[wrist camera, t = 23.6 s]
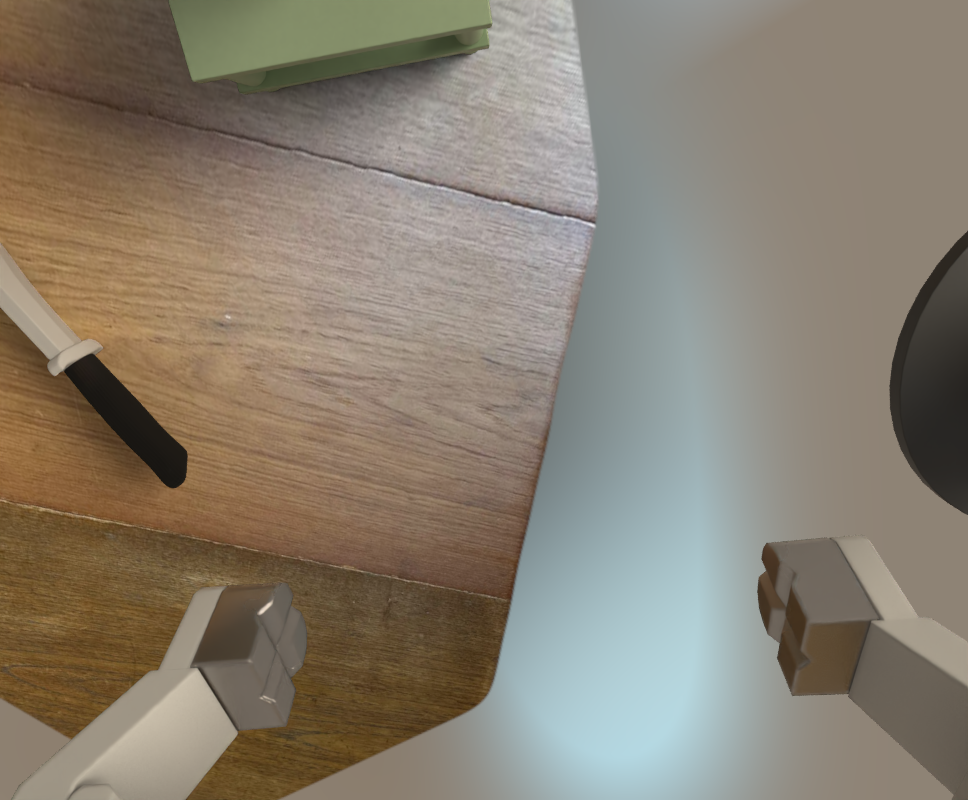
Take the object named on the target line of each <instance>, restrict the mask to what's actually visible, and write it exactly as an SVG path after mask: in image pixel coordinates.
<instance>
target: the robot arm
mask: <svg viewBox="0 0 968 800" xmlns="http://www.w3.org/2000/svg"><path fill="white" fill-rule="evenodd" d="M762 561H763V564H764V566H765V568H766V571H765V572H764V573H763V574H762V575H761V576H760V577H759V580H758V591H757V593H758V602H759V609H760V613H761V616H762V620H763V623H764V626H765V628H766V631H767V634H768V635H770V636H771V637H772V638H773V639H775V640H776V641H777V642H779V643H780V645H779V651H778V656H777V659H778V662H779V664H780V666H781V669H782V671H783V674H784V676H785V679H786V681H787V684H788V686H789V689H790V691H791V694H792V696H802V695H831V694H849V696H848V697H849V698H850V699H851V700H852V701H853V702H854V703H856V704H857V705H858V706H859V707H860V708H861V709H862V710H863V711H864V712H865V713H866V714H867V715H868V716H869V717H871V718H872V719H873V720H874V721H875V722H876V723H877V724H878V725H879V726H880V727H881V728H882V729H884V730H885V731H886V732H887V733H888V734H889V735H890V736H891V737H892V738H893V739H894V740H895V741H897V742H898V743H899V744H900V745H901V746H902V747H903V748H904V749H905V750H906V751H907V752H908V753H910V754H911V755H912V756H913V757H914V758H915V759H916V760H917V761H918V762H919V763H920V764H921V765H922V766H923V767H925V768H926V769H927V770H928V771H929V772H930V773H931V774H932V775H933V776H934V777H935V778H936V779H938V780H939V781H940V782H941V783H942V784H943V785H944V786H945V787H946V788H947V789H948V790H949V791H950V792H952V793H953V794H954V796H953V798H952V800H968V642H967V641H966V640H964V639H963V638H961V637H959V636H958V635H956V634H955V633H953V632H952V631H949V630H948V629H947V628H945V627H944V626H942V625H940V624H939V623H937V622H936V621H934V620H933V619H931V618H929V617H920V618H919V617H918V616H917V614H916V613H915V611H914V610H913V608H912V606H911V605H910V603H909V602H908V600H907V598H906V597H905V595H904V594H903V592H902V590H901V589H900V587H899V586H898V584H897V583H896V581H895V579H894V578H893V576H892V575H891V573H890V572H889V570H888V569H887V567H886V565H885V564H884V562H883V561H882V559H881V558H880V556H879V554H878V553H877V551H876V550H875V548H874V547H873V545H872V543H871V542H870V540H869V539H868V538H866V537H865V536H863V535H855V536H843V537H832V538H816V539H805V540H794V541H783V542H772V543H766V545H765V546H764V548H763V553H762ZM293 596H294V595H293V594H292V592H291V590H290V588H289V586H288V584H287V583H267V584H248V585H230V586H218V587H202V588H200V589H199V590H198V591H197V592H196V593H195V594H194V595H193V597H192V599H191V601H190V603H189V605H188V608H187V610H186V612H185V614H184V616H183V618H182V620H181V622H180V625H179V627H178V629H177V631H176V633H175V635H174V637H173V639H172V642H171V644H170V646H169V648H168V650H167V652H166V654H165V656H164V659H163V661H162V663H161V665H160V667H159V669H158V670H155V671H149V672H148V673H147V674H146V675H145V676H144V677H142V678H141V679H140V680H139V681H138V682H137V683H136V684H134V685H133V686H132V687H131V688H130V689H129V690H128V691H126V692H125V693H124V694H123V695H122V696H121V697H120V698H118V699H117V700H116V701H115V702H114V703H113V704H112V705H110V706H109V707H108V708H107V709H106V710H105V711H104V712H102V713H101V714H100V715H99V716H98V717H97V718H96V719H94V720H93V721H92V722H91V723H90V724H89V725H88V726H86V727H85V728H84V729H83V730H82V731H81V732H80V733H78V734H77V735H76V736H75V737H74V738H73V739H72V740H70V741H69V742H68V743H67V744H66V745H65V746H64V747H63V748H61V749H60V750H59V751H58V752H57V753H56V754H54V755H53V756H52V757H51V758H50V759H49V760H48V761H46V762H45V763H44V764H43V765H42V766H41V767H40V768H38V769H37V770H36V771H35V772H34V773H33V774H32V775H30V776H29V777H28V778H27V779H26V780H25V781H24V782H22V783H21V784H20V785H19V787H18V788H17V790H16V792H15V793H14V795H13V797H12V799H11V800H186V798H187V797H188V796H189V795H190V793H191V792H192V791H193V790H194V788H195V787H196V786H197V785H198V783H199V782H200V781H201V780H202V778H203V777H204V776H205V775H206V773H207V772H208V771H209V770H210V768H211V767H212V766H213V765H214V763H215V762H216V761H217V760H218V758H219V757H220V756H221V755H222V753H223V752H224V751H225V750H226V749H227V747H228V746H229V745H230V744H231V742H232V741H233V740H234V739H235V737H236V736H237V735H238V732H237V731H240V730H251V729H262V728H274V727H285V726H286V725H287V721H288V718H289V714H290V711H291V707H292V703H293V700H294V696H295V692H296V688H295V686H294V684H293V682H292V680H291V677H292V676H293V675H294V674H295V673H296V672H297V671H298V670H299V669H300V668H301V667H302V666H303V662H304V658H305V654H306V647H307V630H306V625H305V620H304V618H303V616H302V613H301V612H300V611H298V610H297V609H295V608H294V607H292V606H291V602H292V599H293Z"/></svg>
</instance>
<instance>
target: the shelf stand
mask: <svg viewBox="0 0 968 800" xmlns="http://www.w3.org/2000/svg"><path fill="white" fill-rule="evenodd" d="M168 2H169V5H170V8H171V12H172V15H173V19H174V22H175V25H176V29H177V32H178V36H179V39H180V42H181V46H182V49H183V53H184V56H185V59H186V63H187V66H188V69H189V73H190V76H191V80H192V81H193V82H197V83H206V82H211V81H216V80H222V79H227V80H231V81H234V82H236V83H237V87H238V90H239V93H241V94H245V95H247V94H252V93H257V92H263V91H268V92H274V91H277V90H278V89H279V88H283V87H289V86H294V85H299V84H304V83H310V82H315V81H320V80H325V79H331V78H336V77H341V76H346V75H352V74H357V73H362V72H367V71H372V70H378V69H383V68H388V67H393V66H399V65H404V64H409V63H414V62H420V61H425V60H430V59H435V58H440V57H446V56H451V55H456V54H461V53H465V54H473V53H475V52H477V51H478V50H482V49H488V48H489V38H488V31H487V28H491V27H492V18H491V11H490V4H489V0H168Z"/></svg>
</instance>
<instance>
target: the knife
mask: <svg viewBox="0 0 968 800" xmlns="http://www.w3.org/2000/svg"><path fill="white" fill-rule="evenodd" d="M0 308H1V309H2V310H3V311H4V312H5V313H6V314H7V315H8V316H9V317H10V318H11V319H12V320H13V322H14V323H15V324H16V325H17V326H18V327H19V328H20V329H21V330H22V331H23V332H24V333H25V334H26V335H27V336H28V338H29V339H30V340H31V341H32V342H33V343H34V344H35V345H36V346H37V347H38V348H39V349H40V350H41V351H42V352H43V353H44V355H45V356H46V357H47V358H48V359H49V360H50V361H49V362H48V365H47V367H48V370H49V372H50V373H51V374H52V375H53V376H56V375H57V374H58V373H60V372H62V371H64V372H65V374H66V375H67V376H68V377H69V378H70V380H71V381H72V382H73V383H74V384H75V386H76V387H77V388H78V389H79V391H80V392H81V393H82V394H83V396H84V397H85V398H86V399H87V400H88V402H89V403H90V404H91V405H92V406H93V407H94V409H95V410H96V411H97V412H98V413H99V414H100V415H101V417H102V418H103V419H104V420H105V421H106V422H107V423H108V424H109V426H110V427H111V428H112V429H113V430H114V431H115V432H116V433H117V434H118V435H119V437H120V438H121V439H122V440H123V441H124V442H125V443H126V444H127V445H128V446H129V447H130V448H131V449H132V450H133V451H134V452H135V453H136V454H137V455H138V456H139V457H140V458H141V459H142V460H143V461H144V462H145V463H146V464H147V465H148V466H149V467H150V468H151V469H152V470H153V471H154V472H155V474H156V475H157V476H158V477H159V479H160V480H161V481H162V482H163V483H164V484H165V485H166V486H168V487H170V488H177V487H178V486H180V485H181V484H182V483H183V482H184V480H185V478H186V473H187V458H188V455H187V451H186V450H185V449H184V448H183V447H182V446H181V445H180V444H179V443H178V442H177V441H176V440H175V439H174V438H172V437H171V436H170V435H169V434H168V433H167V432H166V431H165V430H164V429H163V428H162V427H161V426H160V425H159V423H158V422H157V421H156V420H155V419H154V418H153V417H152V416H151V414H150V413H149V412H148V411H147V410H146V409H145V408H144V407H143V406H142V404H141V403H140V402H139V401H138V400H137V399H136V398H135V397H134V396H133V395H132V394H131V393H130V392H129V391H128V390H127V389H126V388H125V386H124V385H123V384H122V383H121V382H120V381H119V380H118V379H117V378H116V377H115V376H114V375H113V374H112V373H111V372H110V371H109V370H108V369H107V368H106V367H105V366H104V364H103V363H102V362H101V361H100V360H99V359H98V358H97V357H96V356H95V355H96V354H97V353H98V352H100V351H101V350H102V349H103V346H102V345H101V344H100V343H98V342H97V341H95V340H93V339H86V340H83V341H81V340H80V338H79V337H78V336H77V335H76V334H75V333H74V332H73V331H72V330H71V329H70V328H69V327H68V326H67V325H66V323H65V322H64V321H63V320H62V319H61V318H60V317H59V316H58V315H57V314H56V312H55V311H54V310H53V309H52V308H51V307H50V306H49V305H48V303H47V302H46V301H45V300H44V299H43V298H42V296H41V295H40V294H39V293H38V292H37V290H36V289H35V288H34V287H33V285H32V284H31V283H30V282H29V280H28V279H27V278H26V276H25V275H24V274H23V272H22V271H21V270H20V268H19V267H18V265H17V264H16V263H15V261H14V260H13V258H12V257H11V256H10V254H9V253H8V252H7V250H6V249H5V248H4V247H3V245H2V244H1V243H0Z"/></svg>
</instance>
